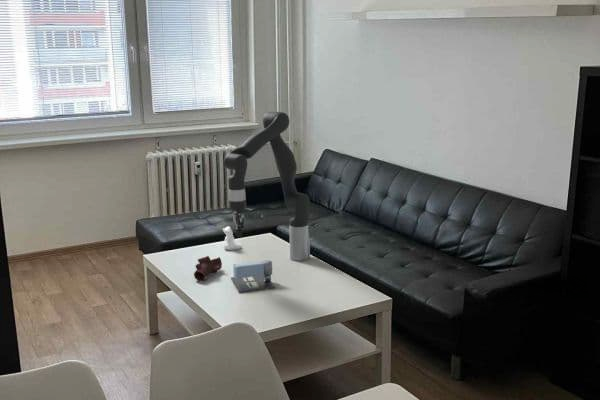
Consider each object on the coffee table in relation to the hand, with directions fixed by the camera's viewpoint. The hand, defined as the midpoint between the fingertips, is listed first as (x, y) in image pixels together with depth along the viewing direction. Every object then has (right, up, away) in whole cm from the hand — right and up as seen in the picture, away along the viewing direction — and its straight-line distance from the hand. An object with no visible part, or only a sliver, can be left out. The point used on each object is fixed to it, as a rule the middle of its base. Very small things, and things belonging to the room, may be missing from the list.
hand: (238, 236), depth 309 cm
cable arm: (+7, -17, 0) cm, 19 cm away
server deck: (+6, -21, +1) cm, 22 cm away
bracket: (-15, -19, +13) cm, 28 cm away
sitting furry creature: (-9, -9, +52) cm, 54 cm away
